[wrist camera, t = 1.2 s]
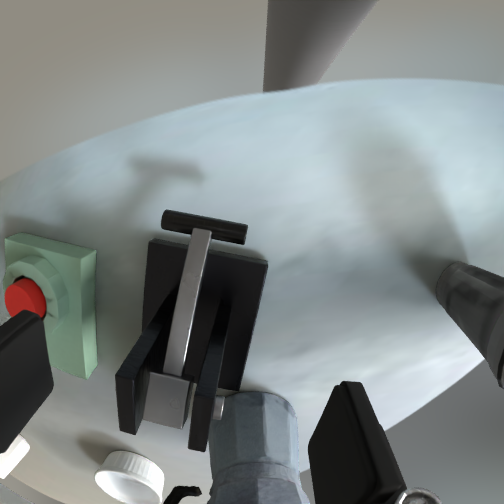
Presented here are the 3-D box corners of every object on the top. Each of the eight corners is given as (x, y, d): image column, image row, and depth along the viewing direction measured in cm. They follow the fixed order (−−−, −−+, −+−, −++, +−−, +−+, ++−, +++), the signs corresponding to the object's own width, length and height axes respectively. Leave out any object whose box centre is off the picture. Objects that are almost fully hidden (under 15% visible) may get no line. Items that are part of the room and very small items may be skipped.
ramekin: (92, 452, 31) (81, 474, 27) (134, 441, 30) (123, 467, 26) (137, 488, 33) (130, 509, 29) (182, 479, 32) (176, 505, 28)
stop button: (14, 273, 20) (2, 280, 19) (45, 283, 21) (32, 291, 19) (18, 311, 21) (7, 319, 20) (48, 323, 21) (37, 332, 20)
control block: (21, 231, 24) (-9, 243, 19) (96, 250, 24) (69, 265, 20) (30, 339, 27) (7, 359, 22) (98, 365, 27) (79, 391, 23)
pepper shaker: (1, 428, 32) (-29, 467, 22) (12, 424, 32) (-21, 467, 21) (22, 451, 34) (-4, 492, 23) (35, 449, 33) (6, 493, 22)
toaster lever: (169, 217, 20) (162, 202, 17) (246, 231, 20) (249, 218, 17) (130, 403, 16) (117, 412, 14) (210, 423, 17) (208, 435, 14)
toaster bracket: (153, 237, 24) (75, 295, 12) (268, 260, 24) (276, 341, 13) (144, 363, 27) (96, 455, 15) (239, 384, 27) (230, 489, 16)
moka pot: (324, 443, 29) (352, 603, 10) (186, 449, 30) (152, 601, 11) (327, 379, 27) (378, 582, 7) (164, 389, 28) (97, 573, 8)
